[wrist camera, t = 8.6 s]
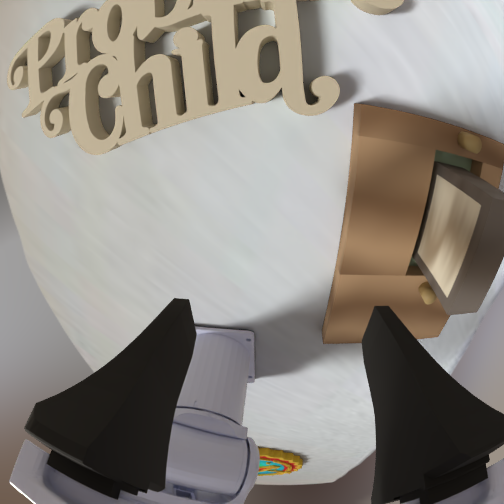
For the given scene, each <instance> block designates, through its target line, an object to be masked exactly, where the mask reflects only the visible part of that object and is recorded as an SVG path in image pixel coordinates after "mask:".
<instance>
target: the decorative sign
mask: <svg viewBox="0 0 504 504" xmlns="http://www.w3.org/2000/svg"><path fill="white" fill-rule="evenodd" d="M296 1H307V0H177V1H176V4H175V7H174V8H173V10H172V11H171V12H170V13H169V14H168V15H166V16H165V11H164V0H107V1H106V2H105V3H104V4H103V5H102V6H101V8H100V9H96V8H90V9H87V10H86V11H85V12H84V13H83V14H82V15H81V16H80V18H75V19H74V20H69V19H62V18H56V19H53V20H51V21H49V22H48V23H47V24H46V25H44V26H43V27H42V28H41V29H40V30H39V31H38V32H37V33H36V34H35V35H34V36H33V37H32V38H30V39H29V40H28V41H27V42H26V43H25V45H24V46H23V47H22V48H21V49H20V50H19V51H18V52H17V54H16V55H15V56H14V58H13V60H12V62H11V64H10V67H9V70H8V75H7V84H8V87H9V88H10V89H11V90H15V89H20V88H26V87H28V86H29V97H30V102H29V105H28V107H27V108H26V109H25V110H24V112H23V113H22V117H23V118H25V117H28V116H32V115H36V114H37V113H38V112H40V111H41V115H40V121H41V127H42V130H43V132H44V134H45V135H46V136H47V137H49V138H53V137H56V136H59V135H62V134H65V133H68V132H69V131H70V130H71V131H72V134H73V136H74V139H75V140H76V142H77V144H78V145H79V146H80V148H81V149H83V150H84V151H85V152H87V153H89V154H92V155H100V154H104V153H106V152H109V151H111V150H113V149H116V148H118V147H120V146H121V145H123V144H125V143H128V142H130V141H133V140H135V139H138V138H140V137H143V136H146V135H148V134H151V133H154V132H156V131H159V130H162V129H165V128H168V127H171V126H174V125H177V124H180V123H183V122H186V121H189V120H193V119H196V118H199V117H203V116H206V115H210V114H213V113H217V112H221V111H225V110H229V109H233V108H237V107H241V106H246V105H250V104H253V103H254V102H256V103H266V102H268V101H270V100H271V99H273V98H274V97H275V96H276V95H277V94H278V92H279V91H280V90H281V89H282V95H283V98H284V101H285V103H286V105H287V106H288V107H289V108H290V109H291V110H292V111H294V112H296V113H298V114H301V115H306V116H314V115H318V114H321V113H323V112H325V111H327V110H328V109H330V108H331V107H332V106H333V105H334V103H335V102H336V101H337V99H338V97H339V94H340V87H339V85H338V83H337V81H336V80H335V79H333V78H332V77H329V76H321V77H319V78H316V79H315V80H313V81H312V82H311V83H310V85H309V90H310V93H311V94H312V95H313V96H315V97H317V100H316V102H315V103H313V104H310V105H308V104H307V103H306V100H305V94H304V87H303V70H302V53H301V41H300V30H299V21H298V12H297V4H296ZM310 1H317V0H310ZM351 2H352V3H353V4H354V5H355V6H356V7H357V8H359V9H360V10H362V11H364V12H366V13H369V14H373V15H384V14H388V13H390V12H391V11H393V10H394V9H396V8H397V7H399V6H400V5H401V4H402V3H403V2H404V0H351ZM258 8H262V9H263V10H273V11H274V15H275V24H276V28H275V27H273V26H270V25H260V26H257V27H254V28H252V29H250V30H249V31H247V32H246V33H245V34H244V35H243V36H242V38H241V39H240V41H239V38H238V12H243V11H246V10H252V9H258ZM121 17H122V25H121V30H120V32H119V28H120V21H121ZM207 20H208V21H209V22H211V23H212V39H213V51H214V63H215V71H216V80H217V89H218V97H219V100H218V103H217V104H216V105H215V104H214V97H213V87H212V78H211V68H210V57H209V47H210V45H209V44H208V43H206V42H205V38H204V36H203V35H202V34H200V33H199V32H198V31H196V30H195V29H194V28H191V27H190V26H192V25H195V24H198V23H201V22H204V21H207ZM174 31H177V32H176V33H175V35H174V38H173V41H174V44H175V46H176V47H178V48H180V49H174V50H172V51H171V53H172V54H174V55H177V56H180V57H182V66H183V77H184V86H185V96H186V105H187V111H186V112H185V105H184V97H183V88H182V79H181V69H180V64H179V62H178V60H177V59H175V58H173V57H169V56H166V55H163V54H157V55H154V56H151V57H150V58H148V59H147V60H146V59H145V41H146V42H149V43H154V42H156V41H157V40H158V39H159V38H160V37H161V35H162V34H163V33H164V32H174ZM91 32H92V40H93V44H94V46H95V48H96V49H97V50H98V51H99V52H101V53H105V54H102V55H99V56H97V57H95V58H93V59H92V60H91V58H90V41H89V38H90V33H91ZM271 41H274V42H276V43H277V44H278V50H279V61H280V72H279V74H278V76H277V78H276V79H275V80H274V81H272V82H270V83H264V82H262V80H261V77H260V69H259V61H260V53H261V49H262V47H263V46H264V45H265V44H266V43H268V42H271ZM64 56H65V63H66V72H65V75H64V77H63V78H62V79H61V80H60V81H59V82H58V86H53V81H52V67H54V66H55V65H56V64H57V63H58V62H59V61H60V60H61V59H62V58H63V57H64ZM27 60H28V66H25V64H26V62H27ZM106 68H108V74H107V75H105V76H104V77H103V78H102V79H101V80H100V77H101V75H102V73H103V72H104V70H105V69H106ZM152 78H153V85H154V94H155V103H156V111H157V119H158V124H153V121H152V114H151V106H150V98H149V90H148V85H149V83H150V81H151V80H152ZM99 81H100V82H99ZM68 93H69V106H67V107H62V108H59V105H60V103H61V101H62V99H63V98H64V97H65V96H66V95H67V94H68ZM99 95H100V96H101V97H102V98H112V97H120V96H121V102H122V105H120V106H117V107H116V108H115V126H114V129H113V131H112V133H111V135H110V134H108V133H107V132H106V131H105V129H104V128H103V125H102V122H101V118H100V113H99ZM243 95H244V96H245V97H244V96H243Z"/></svg>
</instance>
